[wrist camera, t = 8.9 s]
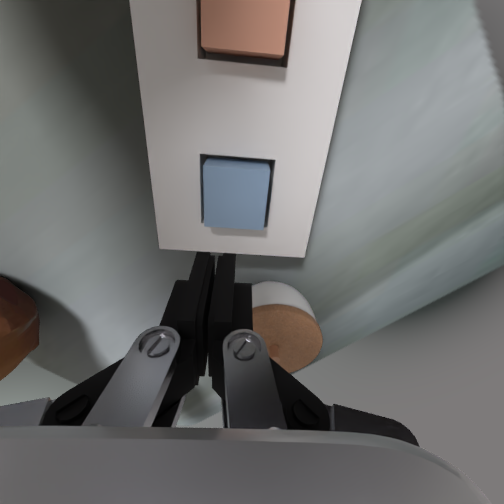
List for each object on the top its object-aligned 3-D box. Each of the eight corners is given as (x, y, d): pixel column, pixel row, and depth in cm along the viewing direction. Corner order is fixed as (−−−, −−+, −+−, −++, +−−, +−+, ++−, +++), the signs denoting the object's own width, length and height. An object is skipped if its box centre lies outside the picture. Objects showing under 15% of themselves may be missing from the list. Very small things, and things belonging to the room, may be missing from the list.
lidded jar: (263, 337, 39) (268, 400, 31) (212, 296, 35) (201, 358, 27) (324, 300, 35) (346, 361, 27) (274, 250, 31) (284, 305, 23)
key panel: (142, -116, 17) (106, -186, 12) (357, -86, 17) (393, -143, 13) (172, 225, 29) (159, 248, 25) (296, 233, 30) (304, 257, 26)
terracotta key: (207, -52, 16) (199, -80, 13) (289, -42, 16) (298, -67, 13) (207, 52, 18) (201, 46, 16) (278, 59, 19) (283, 55, 16)
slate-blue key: (208, 156, 22) (203, 165, 19) (267, 161, 22) (270, 170, 20) (208, 212, 24) (204, 226, 22) (261, 215, 25) (263, 230, 22)
